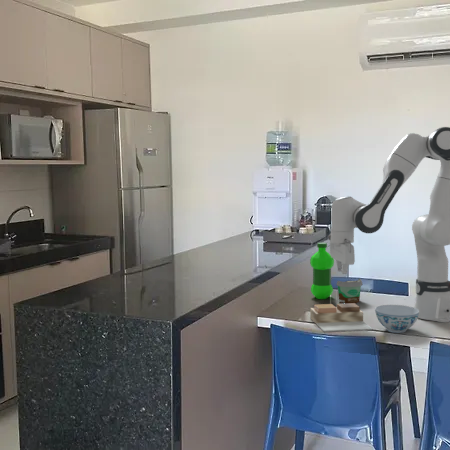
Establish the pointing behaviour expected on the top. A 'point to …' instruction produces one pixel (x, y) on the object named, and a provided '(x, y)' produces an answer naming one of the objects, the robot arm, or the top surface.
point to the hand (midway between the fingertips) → (342, 272)
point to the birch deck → (335, 316)
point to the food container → (349, 291)
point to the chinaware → (396, 317)
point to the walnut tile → (348, 307)
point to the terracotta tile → (325, 308)
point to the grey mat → (344, 326)
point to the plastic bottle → (321, 272)
